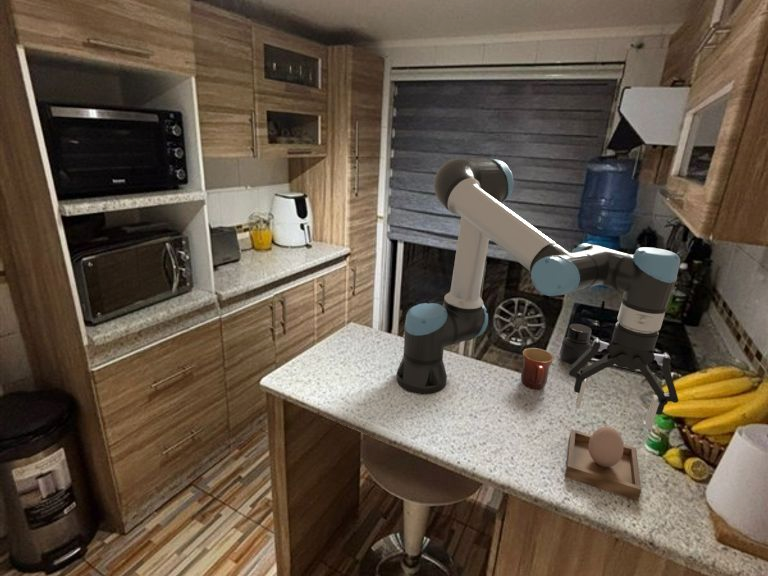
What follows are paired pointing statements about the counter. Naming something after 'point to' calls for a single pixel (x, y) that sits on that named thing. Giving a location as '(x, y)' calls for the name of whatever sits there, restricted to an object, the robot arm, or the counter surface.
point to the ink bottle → (575, 343)
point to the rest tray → (603, 468)
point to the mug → (535, 368)
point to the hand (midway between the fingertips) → (611, 414)
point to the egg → (606, 446)
